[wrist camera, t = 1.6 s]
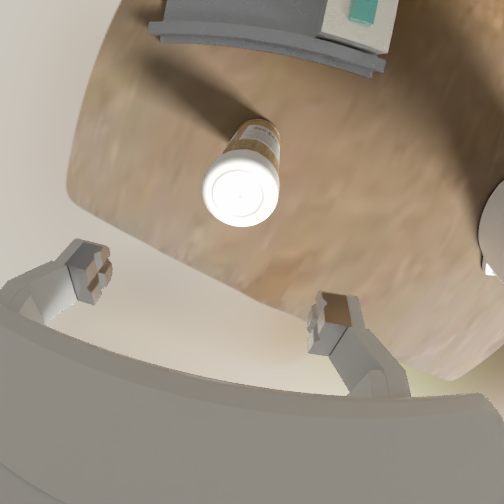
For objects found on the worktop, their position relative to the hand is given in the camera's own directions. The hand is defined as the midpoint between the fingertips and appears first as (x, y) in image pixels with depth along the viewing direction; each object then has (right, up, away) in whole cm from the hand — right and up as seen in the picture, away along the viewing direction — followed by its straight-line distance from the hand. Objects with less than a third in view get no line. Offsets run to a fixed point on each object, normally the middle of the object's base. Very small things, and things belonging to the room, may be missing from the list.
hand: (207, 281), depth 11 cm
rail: (+4, +23, +8) cm, 25 cm away
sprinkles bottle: (+2, +12, +17) cm, 21 cm away
